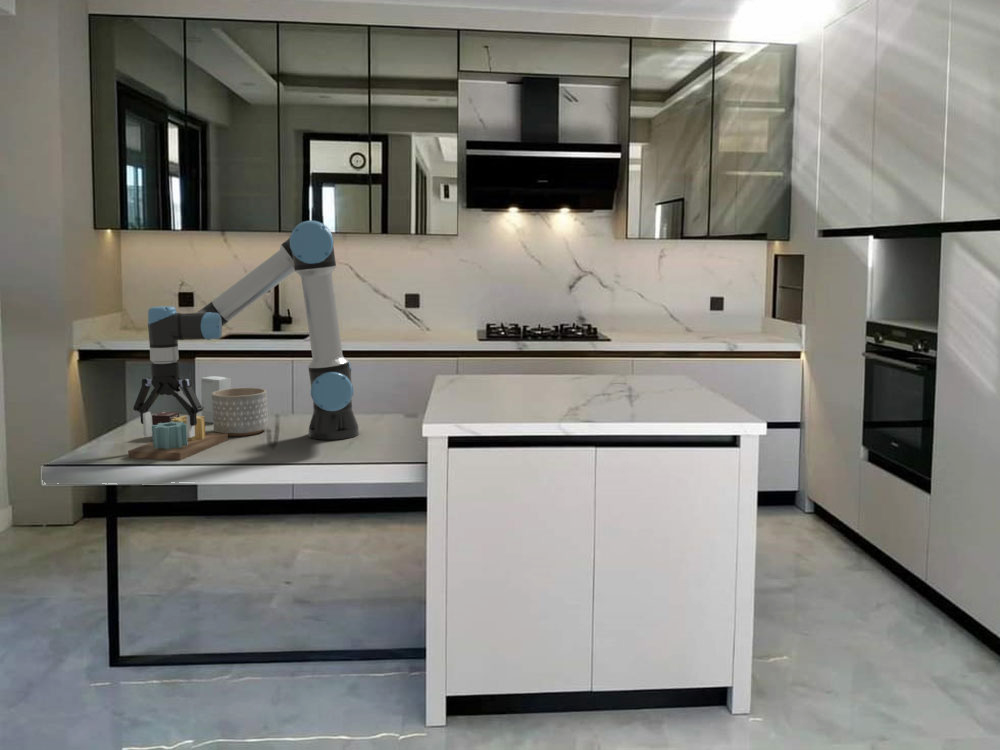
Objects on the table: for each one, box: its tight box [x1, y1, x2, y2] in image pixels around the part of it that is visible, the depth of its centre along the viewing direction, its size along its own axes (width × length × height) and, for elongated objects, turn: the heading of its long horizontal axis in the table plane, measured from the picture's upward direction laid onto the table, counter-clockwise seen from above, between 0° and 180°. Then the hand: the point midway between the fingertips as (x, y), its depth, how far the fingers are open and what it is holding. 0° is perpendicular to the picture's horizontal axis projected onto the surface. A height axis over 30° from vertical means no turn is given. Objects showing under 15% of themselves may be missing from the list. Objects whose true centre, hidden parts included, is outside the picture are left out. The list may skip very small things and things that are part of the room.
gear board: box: [127, 432, 229, 461], centre depth 268 cm, size 16×26×7 cm, turn 167°
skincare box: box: [200, 375, 232, 424], centre depth 308 cm, size 8×6×15 cm
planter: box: [212, 387, 269, 437], centre depth 291 cm, size 16×16×13 cm
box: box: [151, 411, 180, 426], centre depth 285 cm, size 6×6×7 cm
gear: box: [151, 422, 188, 449], centre depth 263 cm, size 9×9×6 cm
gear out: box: [171, 414, 206, 441], centre depth 273 cm, size 9×9×6 cm
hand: (169, 436), depth 263 cm, fingers open, 13 cm apart
